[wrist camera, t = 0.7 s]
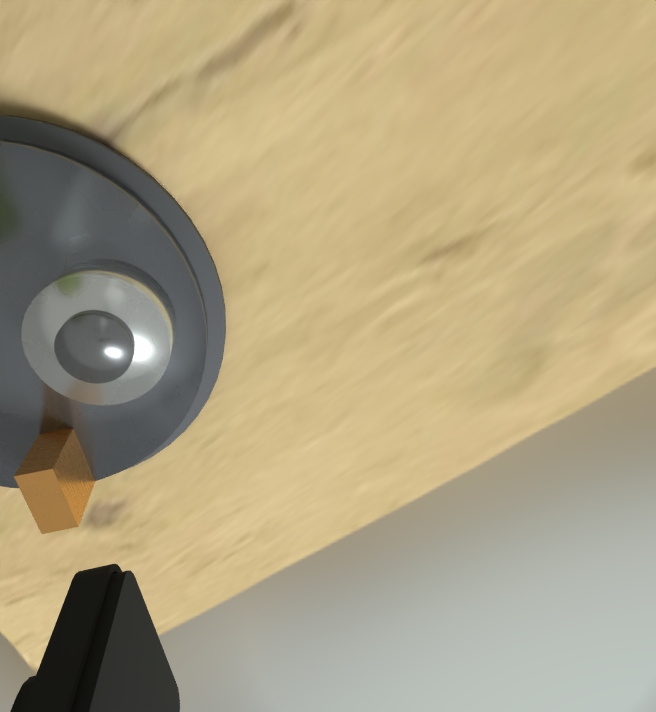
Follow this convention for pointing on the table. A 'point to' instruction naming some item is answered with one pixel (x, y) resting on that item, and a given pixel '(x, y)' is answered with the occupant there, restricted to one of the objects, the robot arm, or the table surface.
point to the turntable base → (169, 214)
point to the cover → (100, 332)
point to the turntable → (30, 276)
